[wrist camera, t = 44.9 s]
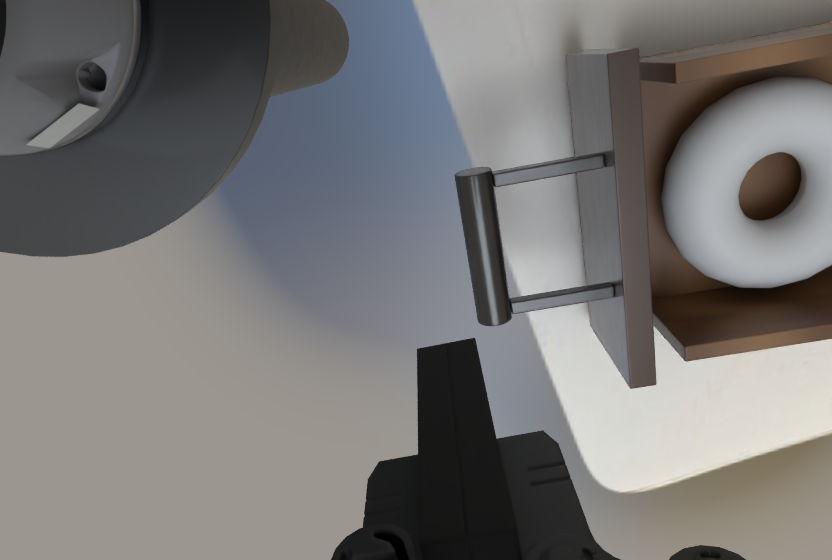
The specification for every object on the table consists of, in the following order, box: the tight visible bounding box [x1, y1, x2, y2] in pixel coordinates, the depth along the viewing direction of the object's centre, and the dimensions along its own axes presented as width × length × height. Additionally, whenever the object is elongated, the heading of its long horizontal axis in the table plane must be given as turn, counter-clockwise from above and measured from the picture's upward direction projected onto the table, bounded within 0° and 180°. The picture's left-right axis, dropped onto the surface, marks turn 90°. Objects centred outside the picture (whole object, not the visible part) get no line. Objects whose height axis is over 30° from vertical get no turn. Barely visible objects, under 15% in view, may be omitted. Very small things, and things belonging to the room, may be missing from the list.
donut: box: [661, 77, 832, 288], centre depth 29 cm, size 10×4×10 cm
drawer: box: [455, 22, 832, 389], centre depth 28 cm, size 22×15×7 cm, turn 100°
